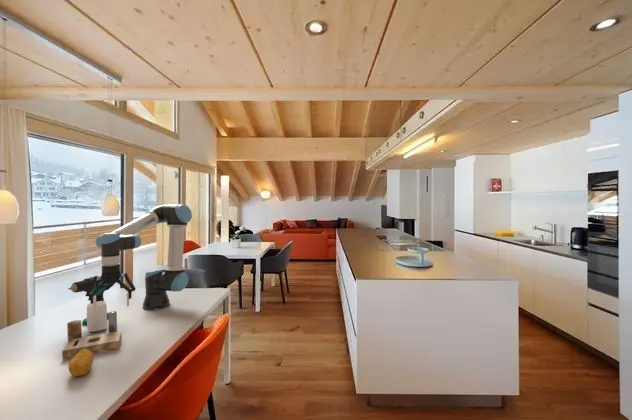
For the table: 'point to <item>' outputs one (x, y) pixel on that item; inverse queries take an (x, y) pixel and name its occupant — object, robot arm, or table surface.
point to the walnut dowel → (74, 329)
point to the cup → (97, 316)
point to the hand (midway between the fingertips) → (111, 307)
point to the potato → (81, 363)
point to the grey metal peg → (112, 321)
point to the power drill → (85, 287)
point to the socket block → (93, 344)
